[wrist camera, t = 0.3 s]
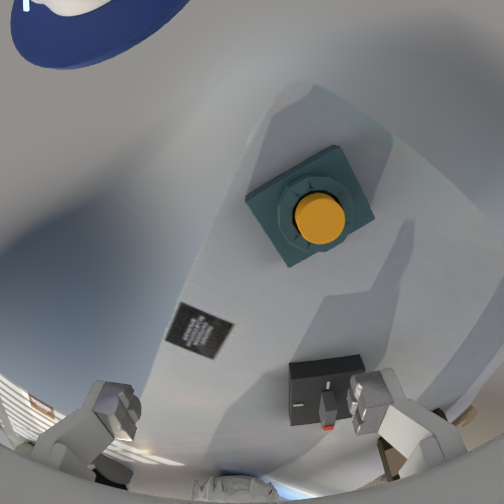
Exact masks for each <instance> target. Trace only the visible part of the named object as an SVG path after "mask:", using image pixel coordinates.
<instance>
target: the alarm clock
mask: <svg viewBox="0 0 504 504" xmlns="http://www.w3.org/2000/svg"><path fill="white" fill-rule="evenodd" d="M87 467H88V468H90V469H91V470H92V471H93V472H94V473H95V475H96V478H95V481H94V482H96V483H99V484H103V485H107V486H111V487H114V488H119V489H123V490H127V491H130V488H129V486H128V483H130V480H131V478H132V476H133V472H131V471H130V470H129V469H127V468H126V467H124V466H123V465H121V464H119V463H117V462H116V461H114V460H112V459H110V458H108V457H106V456H104V455H102V454H99V455H98V456H97V457H96V458H95V459H94V460H93V461H92V462H91V463H90V464H89V465H88V466H87Z"/></svg>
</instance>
